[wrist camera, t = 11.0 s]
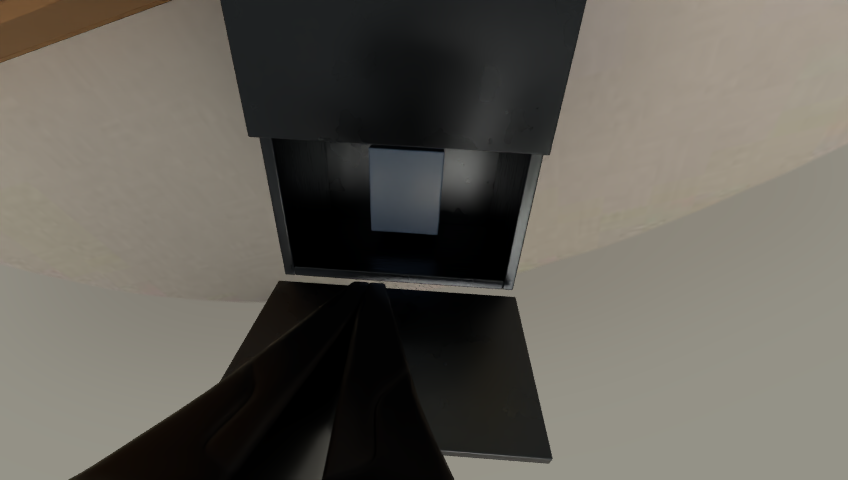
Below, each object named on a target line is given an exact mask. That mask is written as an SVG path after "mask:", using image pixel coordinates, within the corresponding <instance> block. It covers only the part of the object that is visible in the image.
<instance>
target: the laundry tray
mask: <svg viewBox="0 0 848 480" xmlns="http://www.w3.org/2000/svg"><path fill="white" fill-rule="evenodd" d="M168 1H171V0H0V63H1V62H4V61H6V60H9V59H12V58H15V57H17V56H20V55H23V54H26V53H28V52H31V51H34V50H37V49H39V48H42V47H45V46H48V45H50V44H53V43H56V42H58V41H61V40H64V39H67V38H69V37H72V36H75V35H78V34H80V33H83V32H86V31H89V30H91V29H94V28H97V27H100V26H102V25H105V24H108V23H111V22H113V21H116V20H119V19H122V18H124V17H127V16H130V15H133V14H135V13H138V12H141V11H144V10H146V9H149V8H152V7H155V6H157V5H160V4H163V3H166V2H168Z"/></svg>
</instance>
